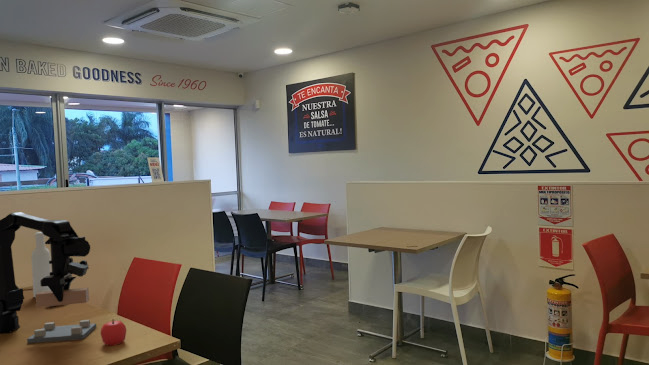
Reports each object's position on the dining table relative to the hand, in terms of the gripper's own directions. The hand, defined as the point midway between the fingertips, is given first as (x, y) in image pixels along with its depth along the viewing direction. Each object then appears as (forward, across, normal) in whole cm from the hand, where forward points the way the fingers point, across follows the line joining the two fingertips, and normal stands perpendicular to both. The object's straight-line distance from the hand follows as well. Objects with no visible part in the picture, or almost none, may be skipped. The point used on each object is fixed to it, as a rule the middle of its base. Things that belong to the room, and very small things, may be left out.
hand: (62, 300), depth 166 cm
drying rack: (+12, -1, 0) cm, 12 cm away
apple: (+12, -14, -21) cm, 28 cm away
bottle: (+12, +59, +33) cm, 69 cm away
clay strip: (+1, 0, 0) cm, 1 cm away
